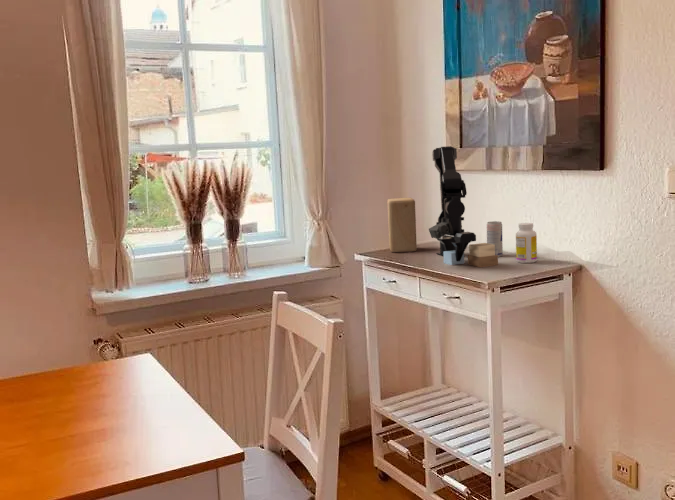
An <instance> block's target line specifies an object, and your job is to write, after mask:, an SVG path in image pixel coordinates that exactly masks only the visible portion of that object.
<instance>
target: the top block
mask: <svg viewBox="0 0 675 500" xmlns="http://www.w3.org/2000/svg"><path fill="white" fill-rule="evenodd" d="M443 254H444V256H443V264H446V265H450V266H454V265H462V264H465V252H464V253H463V255H462V258H461V260H460V261H457V260H456V253H455V250H452V251H444V252H443Z"/></svg>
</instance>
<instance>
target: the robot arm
mask: <svg viewBox="0 0 675 500" xmlns="http://www.w3.org/2000/svg"><path fill="white" fill-rule="evenodd" d="M431 156H432V161H433V162H434V167H435V169H436V170H437V171H438V173H439V188H440V189H439V190H440V205H441V207H440V208H441V212H440V214H439V216H438V217H437V221H436V224H435V225H433V226H431V227H429V228H428V231H429V235H430V237H431V238H432V239H436V240H437V241H438V242H439V252H436V255H439V256H443V257H444V254H443V252H444V251H452V250H455V253H456V260H457V261H460V260H461V258H462V255H463V253H464V254H465V251H466V249H467V247H468V246H469V245H470V244H471V243H473V242H476V241H477V235H476V234H475V232H473V231H472V232H471V231H465V229H464V228H463V225H462V224H463V223H462V221H465V217H463V215H464V213H465V211H466V207H465V204H464V203H463V202H462V200H461V199H464V198H466V196H467V194H468V193H467V186H466V182H465V180H464V179H462V174H461V173H460V172H459V171H457V168H456V160H457V159H458V152H457V148H455V147H454V146H451V145H447V146H440V147H436V148H435V149H433V150H432V155H431Z"/></svg>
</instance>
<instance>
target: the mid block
mask: <svg viewBox="0 0 675 500" xmlns="http://www.w3.org/2000/svg"><path fill="white" fill-rule="evenodd" d="M468 246H469V247H468V248H469V249H468V251H469V254H468V255H472V256H476V257H486V256H494V255H495V245H493V244H488V243H487V242H479V243H472V244H471V243H469V244H468Z"/></svg>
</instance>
